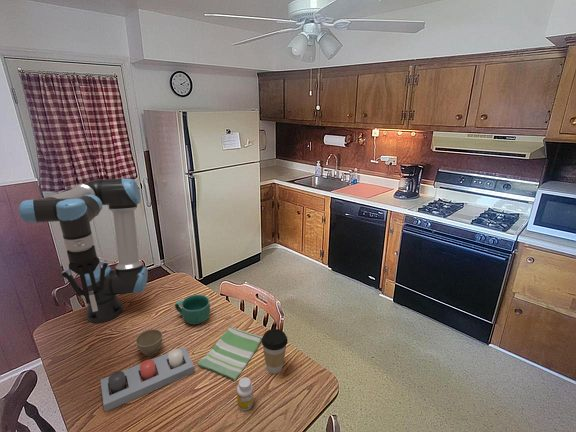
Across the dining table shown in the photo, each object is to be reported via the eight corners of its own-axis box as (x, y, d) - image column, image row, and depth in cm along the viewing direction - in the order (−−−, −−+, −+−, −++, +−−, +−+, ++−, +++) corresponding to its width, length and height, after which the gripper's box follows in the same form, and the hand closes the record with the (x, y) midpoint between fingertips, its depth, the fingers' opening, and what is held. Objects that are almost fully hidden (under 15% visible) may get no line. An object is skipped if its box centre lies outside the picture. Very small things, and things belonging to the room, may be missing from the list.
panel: (102, 385, 113) (100, 379, 112) (185, 352, 128) (184, 346, 127) (105, 411, 103) (103, 405, 102) (194, 372, 119) (194, 366, 118)
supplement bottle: (238, 397, 109) (237, 375, 106) (253, 396, 110) (252, 375, 107) (237, 411, 104) (235, 389, 101) (253, 410, 105) (252, 388, 101)
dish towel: (196, 367, 122) (195, 361, 121) (229, 329, 142) (229, 324, 141) (235, 382, 116) (234, 377, 115) (264, 341, 136) (264, 336, 135)
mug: (215, 313, 152) (214, 297, 149) (202, 330, 141) (200, 313, 138) (185, 307, 156) (183, 291, 153) (170, 323, 145) (168, 306, 142)
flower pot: (155, 362, 123) (152, 348, 121) (132, 358, 125) (129, 344, 122) (169, 344, 132) (167, 330, 130) (148, 340, 134) (145, 327, 132)
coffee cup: (290, 361, 125) (291, 331, 120) (281, 380, 116) (282, 349, 111) (267, 355, 128) (267, 325, 123) (257, 373, 119) (257, 342, 114)
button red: (140, 375, 116) (138, 363, 114) (155, 369, 119) (152, 357, 117) (143, 385, 112) (141, 372, 110) (158, 379, 115) (155, 366, 113)
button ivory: (168, 364, 121) (166, 352, 119) (181, 358, 124) (180, 346, 122) (171, 373, 118) (170, 360, 116) (185, 367, 120) (183, 355, 118)
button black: (110, 388, 111) (107, 375, 109) (126, 381, 114) (123, 369, 112) (112, 398, 107) (109, 385, 105) (128, 391, 110) (125, 378, 108)
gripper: (55, 257, 93) (72, 322, 101) (105, 247, 100) (117, 308, 108) (55, 247, 99) (72, 309, 107) (103, 238, 106) (115, 298, 114)
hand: (95, 309), depth 107 cm, fingers closed
